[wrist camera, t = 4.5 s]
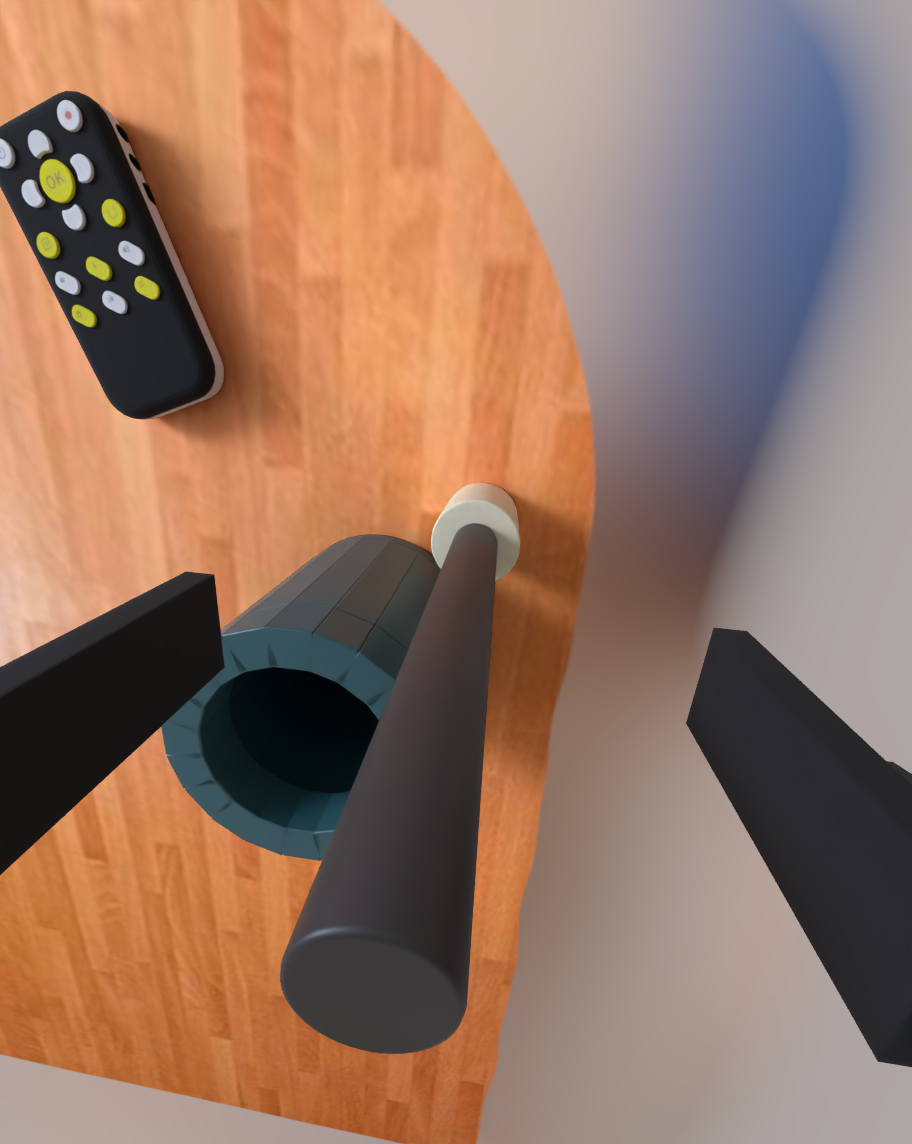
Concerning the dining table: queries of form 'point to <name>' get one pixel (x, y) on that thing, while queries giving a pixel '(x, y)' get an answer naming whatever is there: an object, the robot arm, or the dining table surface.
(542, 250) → the dining table surface
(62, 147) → the remote control
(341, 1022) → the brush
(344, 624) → the jar
